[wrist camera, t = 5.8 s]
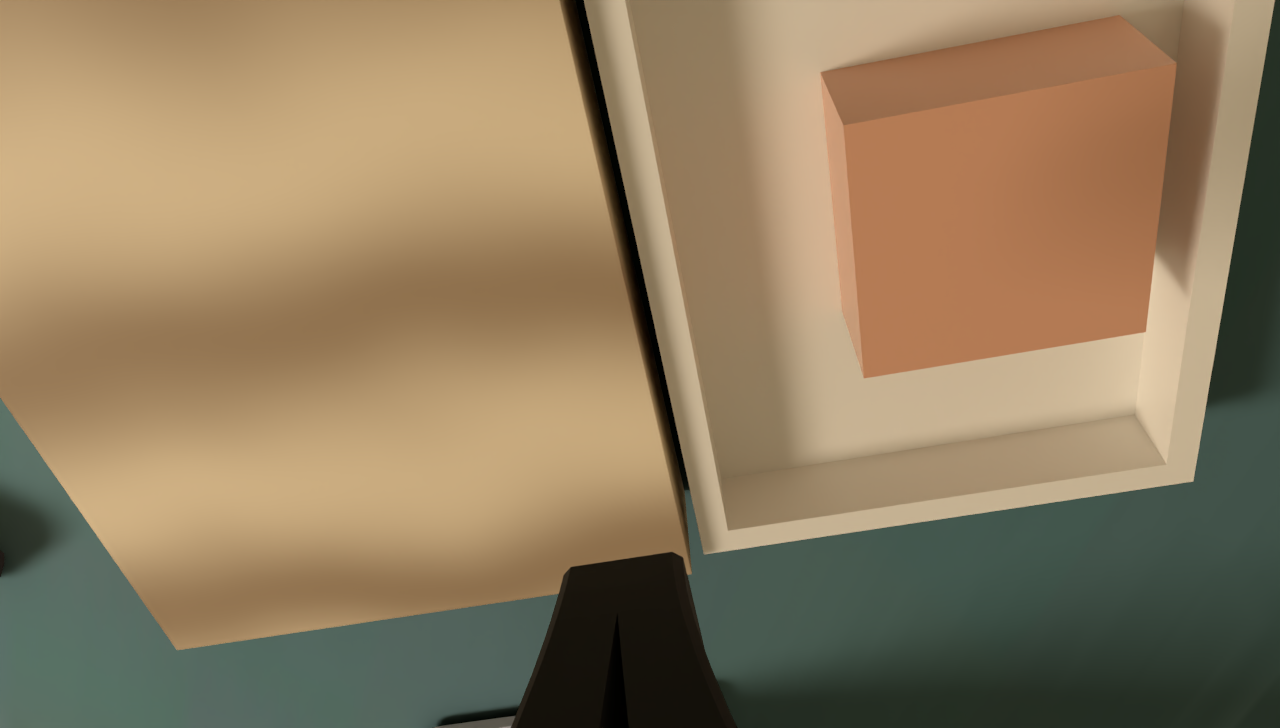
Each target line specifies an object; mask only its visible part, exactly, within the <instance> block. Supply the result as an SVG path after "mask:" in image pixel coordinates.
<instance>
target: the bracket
mask: <svg viewBox="0 0 1280 728" xmlns="http://www.w3.org/2000/svg"><path fill="white" fill-rule="evenodd" d="M3 567H4V553H3V552H2V551H0V576H1V574H2V570H3Z"/></svg>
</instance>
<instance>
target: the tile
mask: <svg viewBox="0 0 1280 728" xmlns="http://www.w3.org/2000/svg"><path fill="white" fill-rule="evenodd" d="M1176 67H1177V63H1176V62H1175V61H1174V60H1172V59H1171V58H1170V57H1169V56H1168V55H1167V54H1165V53H1164V52H1163V51H1162V50H1161V49H1159V48H1158V47H1157V46H1156V45H1155V44H1153V43H1152V42H1151V41H1150V40H1149V39H1148V38H1146V37H1145V36H1144V35H1143V34H1142V33H1140V32H1139V31H1138V30H1137V29H1136V28H1134V27H1133V26H1132V25H1131V24H1130V23H1128V22H1127V21H1126V20H1125V19H1124V18H1123V17H1121V16H1120V15H1117V16H1112V17H1107V18H1102V19H1096V20H1091V21H1086V22H1081V23H1075V24H1070V25H1065V26H1060V27H1054V28H1049V29H1044V30H1039V31H1034V32H1028V33H1023V34H1018V35H1013V36H1007V37H1002V38H997V39H992V40H986V41H981V42H976V43H971V44H966V45H960V46H955V47H950V48H945V49H939V50H934V51H929V52H924V53H919V54H913V55H908V56H903V57H898V58H892V59H887V60H882V61H877V62H871V63H866V64H861V65H856V66H851V67H845V68H840V69H835V70H830V71H824V72H820V77H821V88H822V99H823V110H824V120H825V131H826V142H827V153H828V164H829V175H830V186H831V197H832V208H833V218H834V229H835V240H836V251H837V262H838V273H839V284H840V295H841V306H842V313H843V316H844V319H845V322H846V325H847V328H848V331H849V334H850V338H851V341H852V344H853V347H854V350H855V353H856V356H857V359H858V362H859V365H860V368H861V371H862V374H863V378H870V377H876V376H882V375H888V374H894V373H900V372H907V371H913V370H919V369H925V368H931V367H937V366H943V365H949V364H955V363H961V362H967V361H973V360H979V359H986V358H992V357H998V356H1004V355H1010V354H1016V353H1022V352H1028V351H1034V350H1040V349H1046V348H1052V347H1058V346H1065V345H1071V344H1077V343H1083V342H1089V341H1095V340H1101V339H1107V338H1113V337H1119V336H1125V335H1131V334H1137V333H1144V332H1146V326H1147V318H1148V309H1149V301H1150V292H1151V283H1152V275H1153V266H1154V257H1155V249H1156V240H1157V231H1158V223H1159V214H1160V206H1161V197H1162V188H1163V180H1164V171H1165V162H1166V154H1167V145H1168V136H1169V128H1170V119H1171V111H1172V102H1173V93H1174V85H1175V76H1176Z"/></svg>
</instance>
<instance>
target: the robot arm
mask: <svg viewBox="0 0 1280 728" xmlns="http://www.w3.org/2000/svg"><path fill="white" fill-rule="evenodd" d="M434 728H737V726H736V724H735V722H734V720H733V718H732V715H731V713H730V711H729V709H728V706H727V704H726V701H725V699H724V697H723V694H722V692H721V690H720V687H719V685H718V682H717V680H716V678H715V675H714V673H713V671H712V668H711V666H710V663H709V660H708V658H707V655H706V652H705V649H704V645H703V640H702V636H701V632H700V628H699V623H698V619H697V615H696V610H695V606H694V602H693V598H692V593H691V589H690V585H689V580H688V576H687V572H686V568H685V563H684V559H683V557H681V556H679V555H678V554H676V553H674V552H667V553H660V554H654V555H647V556H640V557H634V558H627V559H620V560H614V561H607V562H600V563H594V564H587V565H580V566H574V567H570V568H569V570H568V571H567V572H566V573H565V574H564V576H563V579H562V583H561V587H560V591H559V595H558V598H557V602H556V605H555V608H554V612H553V615H552V618H551V621H550V625H549V628H548V631H547V634H546V637H545V640H544V642H543V645H542V648H541V651H540V654H539V657H538V659H537V662H536V665H535V668H534V671H533V673H532V676H531V678H530V681H529V683H528V686H527V688H526V691H525V693H524V696H523V698H522V701H521V703H520V706H519V708H518V711H517V713H516V716H509V717H501V718H494V719H487V720H480V721H472V722H465V723H458V724H451V725H443V726H437V727H434Z"/></svg>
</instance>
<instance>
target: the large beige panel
mask: <svg viewBox="0 0 1280 728" xmlns="http://www.w3.org/2000/svg"><path fill="white" fill-rule="evenodd" d="M0 398H1V399H2V400H3V402H4V403H5V405H6V406H7V408H8V409H9V410H10V412H11V413H12V415H13V416H14V418H15V419H16V420H17V422H18V423H19V425H20V426H21V428H22V429H23V430H24V432H25V433H26V435H27V436H28V438H29V439H30V440H31V442H32V443H33V445H34V446H35V448H36V449H37V450H38V452H39V453H40V455H41V456H42V458H43V459H44V461H45V462H46V463H47V465H48V466H49V468H50V469H51V471H52V472H53V473H54V475H55V476H56V478H57V479H58V481H59V482H60V483H61V485H62V486H63V488H64V489H65V491H66V492H67V493H68V495H69V496H70V498H71V499H72V501H73V502H74V503H75V505H76V506H77V508H78V509H79V511H80V512H81V513H82V515H83V516H84V518H85V519H86V521H87V522H88V523H89V525H90V526H91V528H92V529H93V531H94V532H95V533H96V535H97V536H98V538H99V539H100V541H101V542H102V543H103V545H104V546H105V548H106V549H107V551H108V552H109V553H110V555H111V556H112V558H113V559H114V561H115V562H116V563H117V565H118V566H119V568H120V569H121V571H122V572H123V573H124V575H125V576H126V578H127V579H128V581H129V582H130V583H131V585H132V586H133V588H134V589H135V591H136V592H137V594H138V595H139V596H140V598H141V599H142V601H143V602H144V604H145V605H146V606H147V608H148V609H149V611H150V612H151V614H152V615H153V616H154V618H155V619H156V621H157V622H158V624H159V625H160V626H161V628H162V629H163V631H164V632H165V634H166V635H167V636H168V638H169V639H170V641H171V642H172V644H173V645H174V646H175V648H176V649H177V650H181V649H188V648H195V647H202V646H208V645H215V644H222V643H229V642H235V641H242V640H249V639H256V638H262V637H269V636H276V635H283V634H289V633H296V632H303V631H310V630H316V629H323V628H330V627H337V626H344V625H350V624H357V623H364V622H371V621H377V620H384V619H391V618H398V617H404V616H411V615H418V614H425V613H431V612H438V611H445V610H452V609H458V608H465V607H472V606H479V605H486V604H492V603H499V602H506V601H513V600H519V599H526V598H533V597H540V596H546V595H553V594H559V591H560V587H561V583H562V579H563V576H564V574H565V573H566V572H567V571H568V570H569V568H570V567H574V566H580V565H587V564H594V563H600V562H607V561H614V560H620V559H627V558H634V557H640V556H647V555H654V554H660V553H667V552H674V553H676V554H678V555H679V556H681V557H683V559H684V563H685V568H686V572H687V575H688V574H692V571H691V559H690V548H689V537H688V525H687V514H686V502H685V492H684V487H683V483H682V478H681V474H680V469H679V465H678V460H677V456H676V451H675V447H674V442H673V438H672V433H671V428H670V424H669V419H668V415H667V410H666V406H665V401H664V397H663V392H662V388H661V383H660V379H659V374H658V370H657V365H656V361H655V356H654V352H653V347H652V343H651V338H650V334H649V329H648V325H647V320H646V316H645V311H644V307H643V302H642V298H641V293H640V289H639V284H638V280H637V275H636V271H635V266H634V262H633V257H632V253H631V248H630V244H629V239H628V235H627V230H626V226H625V221H624V217H623V212H622V207H621V203H620V198H619V194H618V189H617V185H616V180H615V176H614V171H613V167H612V162H611V158H610V153H609V149H608V144H607V140H606V135H605V131H604V126H603V122H602V117H601V113H600V108H599V104H598V99H597V95H596V90H595V86H594V81H593V77H592V72H591V68H590V63H589V59H588V54H587V50H586V45H585V41H584V36H583V32H582V27H581V23H580V18H579V14H578V9H577V5H576V0H0Z"/></svg>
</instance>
